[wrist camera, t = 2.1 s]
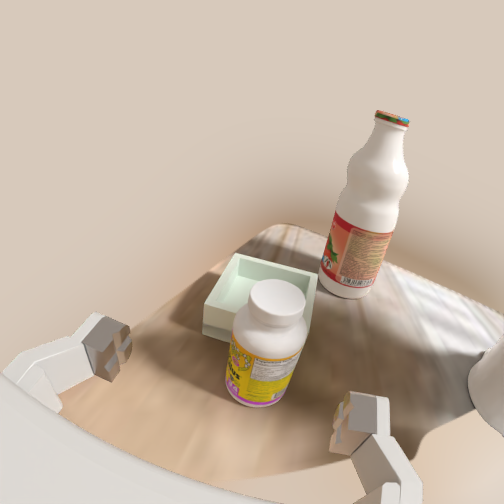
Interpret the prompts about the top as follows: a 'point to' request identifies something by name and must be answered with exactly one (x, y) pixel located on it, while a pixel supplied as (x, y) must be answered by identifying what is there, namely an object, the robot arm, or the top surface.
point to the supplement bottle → (266, 343)
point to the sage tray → (238, 288)
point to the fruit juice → (366, 211)
